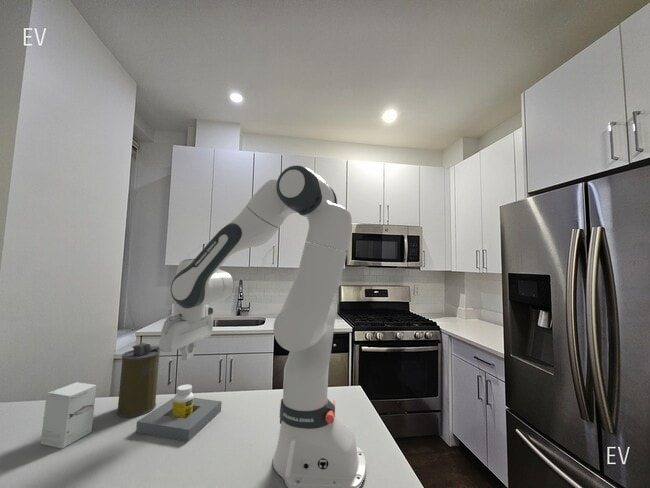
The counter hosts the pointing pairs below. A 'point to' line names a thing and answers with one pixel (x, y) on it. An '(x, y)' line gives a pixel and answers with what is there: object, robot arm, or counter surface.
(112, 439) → the counter surface
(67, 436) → the supplement box
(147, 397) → the canister
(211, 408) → the socket block
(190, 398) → the supplement bottle
